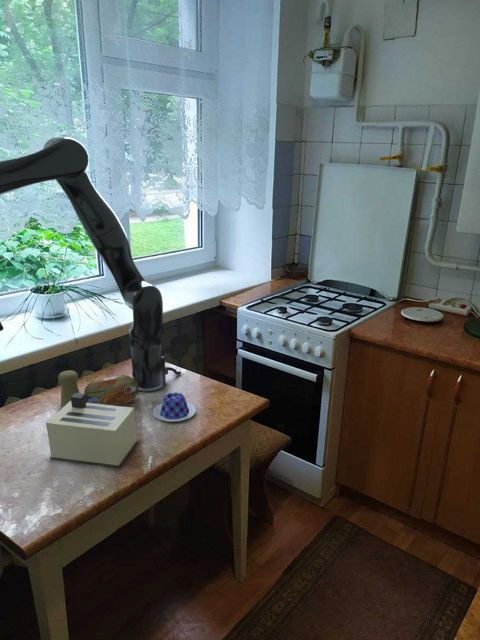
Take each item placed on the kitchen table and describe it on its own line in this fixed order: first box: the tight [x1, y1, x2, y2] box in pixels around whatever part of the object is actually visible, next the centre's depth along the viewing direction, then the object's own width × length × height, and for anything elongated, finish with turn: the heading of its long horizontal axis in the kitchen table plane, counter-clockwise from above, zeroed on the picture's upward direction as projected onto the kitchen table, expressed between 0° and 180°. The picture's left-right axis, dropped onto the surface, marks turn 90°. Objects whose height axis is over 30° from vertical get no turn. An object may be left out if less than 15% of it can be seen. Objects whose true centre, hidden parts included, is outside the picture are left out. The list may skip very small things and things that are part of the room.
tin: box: [83, 374, 139, 406], centre depth 143 cm, size 15×3×8 cm, turn 117°
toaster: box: [45, 401, 139, 469], centre depth 121 cm, size 13×17×10 cm
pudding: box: [152, 392, 197, 422], centre depth 140 cm, size 12×12×5 cm
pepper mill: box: [58, 369, 81, 410], centre depth 140 cm, size 6×6×11 cm
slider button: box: [71, 392, 86, 408], centre depth 122 cm, size 2×3×3 cm
